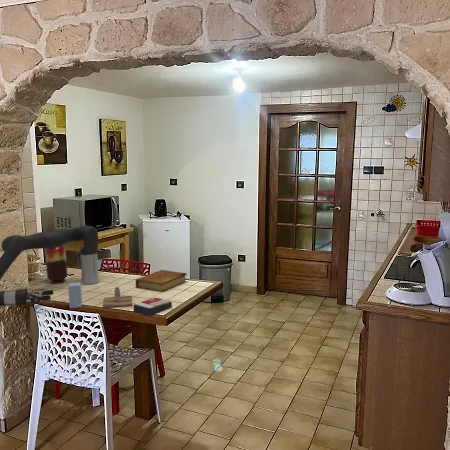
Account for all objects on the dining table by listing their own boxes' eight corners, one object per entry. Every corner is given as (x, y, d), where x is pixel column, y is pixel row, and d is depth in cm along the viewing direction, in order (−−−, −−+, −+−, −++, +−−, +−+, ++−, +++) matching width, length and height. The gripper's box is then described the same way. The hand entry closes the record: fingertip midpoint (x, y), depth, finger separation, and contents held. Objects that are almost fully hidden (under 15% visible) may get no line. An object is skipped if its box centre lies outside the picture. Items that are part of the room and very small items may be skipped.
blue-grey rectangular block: (70, 304, 229) (69, 283, 227) (82, 303, 230) (80, 282, 228) (69, 308, 224) (68, 286, 222) (81, 307, 225) (79, 285, 223)
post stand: (103, 299, 236) (103, 284, 235) (131, 297, 239) (131, 282, 238) (102, 308, 223) (101, 292, 222) (132, 306, 226) (131, 290, 225)
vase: (71, 279, 275) (68, 236, 271) (60, 284, 265) (57, 240, 261) (55, 278, 278) (52, 235, 274) (43, 283, 267) (40, 239, 263)
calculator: (172, 300, 223) (149, 307, 211) (172, 309, 224) (149, 316, 212) (155, 296, 230) (133, 303, 218) (155, 305, 230) (133, 311, 218)
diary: (160, 279, 277) (160, 269, 276) (186, 283, 268) (186, 273, 267) (135, 288, 257) (135, 278, 256) (162, 293, 248) (162, 282, 247)
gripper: (11, 294, 213) (49, 291, 216) (18, 285, 227) (53, 283, 230) (13, 309, 214) (50, 307, 217) (19, 300, 228) (54, 297, 231)
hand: (51, 294), depth 224 cm, fingers open, 8 cm apart
